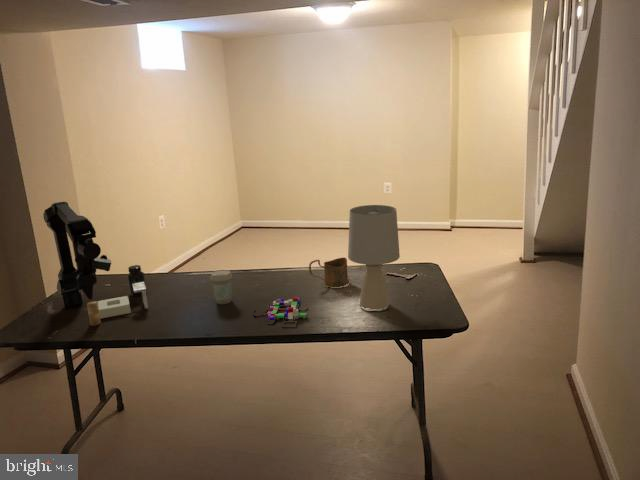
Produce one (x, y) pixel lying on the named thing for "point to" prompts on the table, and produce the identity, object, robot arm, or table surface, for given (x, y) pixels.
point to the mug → (334, 272)
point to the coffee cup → (222, 285)
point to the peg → (93, 313)
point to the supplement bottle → (135, 278)
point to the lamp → (373, 249)
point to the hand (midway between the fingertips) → (90, 294)
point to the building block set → (289, 310)
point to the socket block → (114, 307)
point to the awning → (141, 288)
